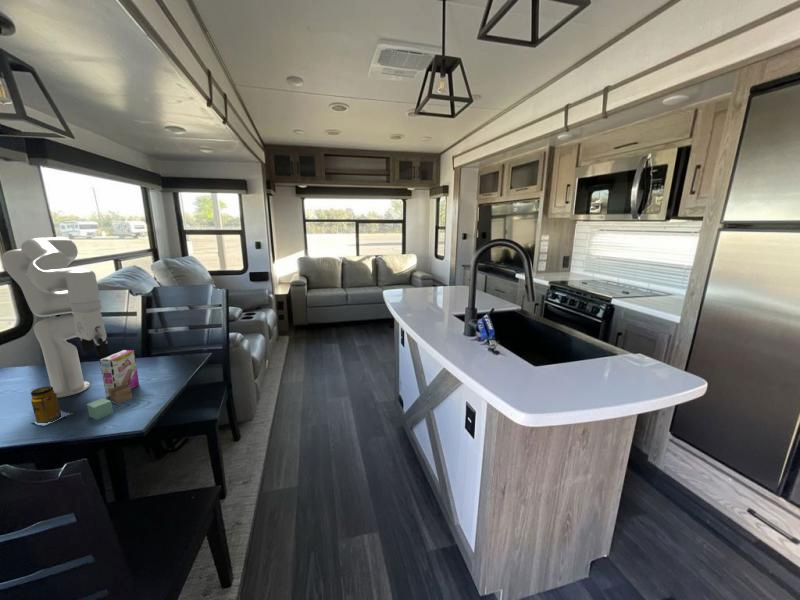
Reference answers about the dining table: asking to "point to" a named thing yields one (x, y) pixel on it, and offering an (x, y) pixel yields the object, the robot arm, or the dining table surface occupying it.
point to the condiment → (45, 405)
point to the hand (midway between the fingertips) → (95, 352)
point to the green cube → (100, 408)
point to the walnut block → (120, 393)
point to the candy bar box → (119, 370)
